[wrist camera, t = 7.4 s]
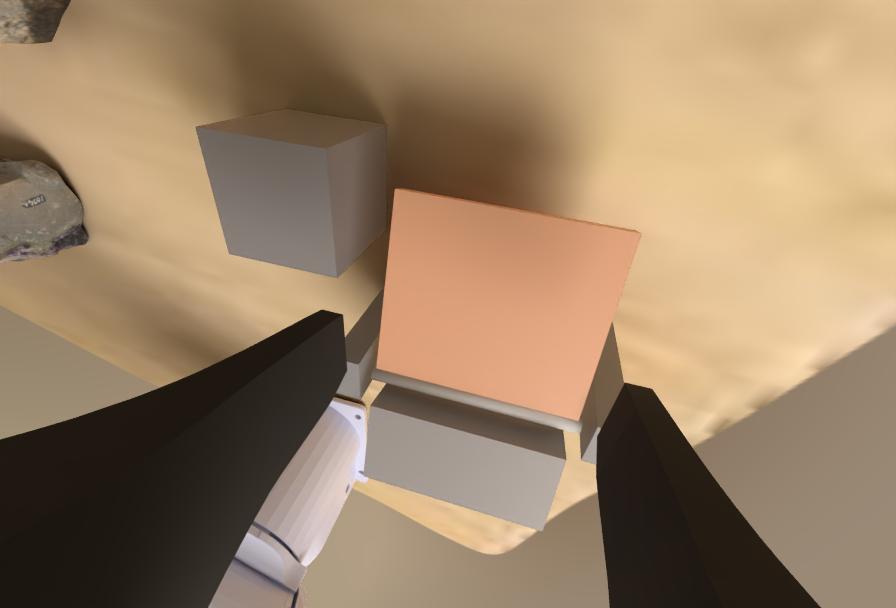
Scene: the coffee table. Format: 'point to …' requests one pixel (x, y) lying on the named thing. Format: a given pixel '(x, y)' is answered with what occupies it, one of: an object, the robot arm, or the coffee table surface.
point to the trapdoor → (488, 349)
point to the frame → (595, 410)
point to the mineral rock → (36, 212)
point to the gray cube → (298, 187)
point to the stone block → (30, 20)
